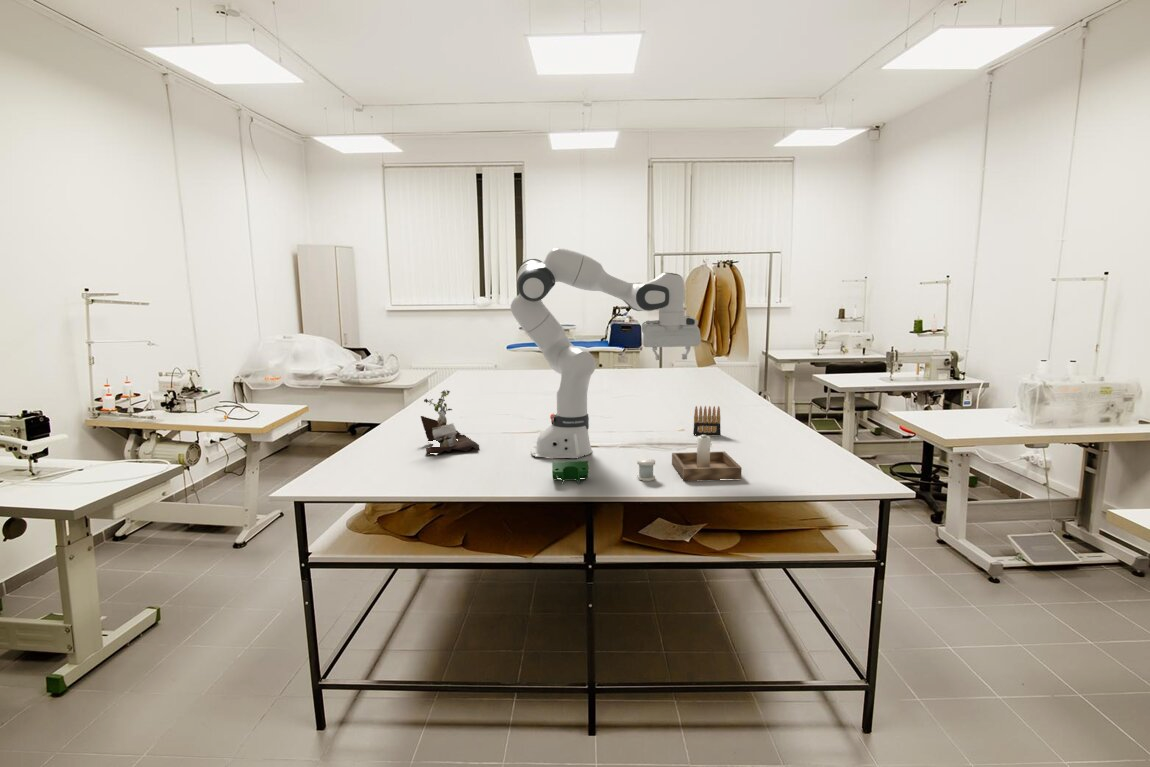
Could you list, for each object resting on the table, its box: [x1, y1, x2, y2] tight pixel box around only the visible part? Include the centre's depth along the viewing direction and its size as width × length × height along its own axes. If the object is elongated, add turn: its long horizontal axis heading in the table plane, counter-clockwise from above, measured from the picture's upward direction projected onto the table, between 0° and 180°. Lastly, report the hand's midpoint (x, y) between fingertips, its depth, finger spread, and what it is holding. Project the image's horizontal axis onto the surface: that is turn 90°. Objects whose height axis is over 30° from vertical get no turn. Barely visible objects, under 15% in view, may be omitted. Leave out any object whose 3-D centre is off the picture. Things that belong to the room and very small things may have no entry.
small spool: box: [636, 457, 656, 482], centre depth 185 cm, size 6×6×6 cm
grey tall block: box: [696, 435, 711, 468], centre depth 192 cm, size 4×4×11 cm
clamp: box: [551, 460, 590, 483], centre depth 183 cm, size 12×6×9 cm, turn 86°
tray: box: [671, 450, 743, 482], centre depth 191 cm, size 18×18×4 cm
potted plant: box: [420, 389, 481, 455], centre depth 225 cm, size 20×19×25 cm
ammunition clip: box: [692, 405, 722, 436], centre depth 237 cm, size 11×2×12 cm, turn 83°
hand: (671, 359), depth 207 cm, fingers open, 8 cm apart
